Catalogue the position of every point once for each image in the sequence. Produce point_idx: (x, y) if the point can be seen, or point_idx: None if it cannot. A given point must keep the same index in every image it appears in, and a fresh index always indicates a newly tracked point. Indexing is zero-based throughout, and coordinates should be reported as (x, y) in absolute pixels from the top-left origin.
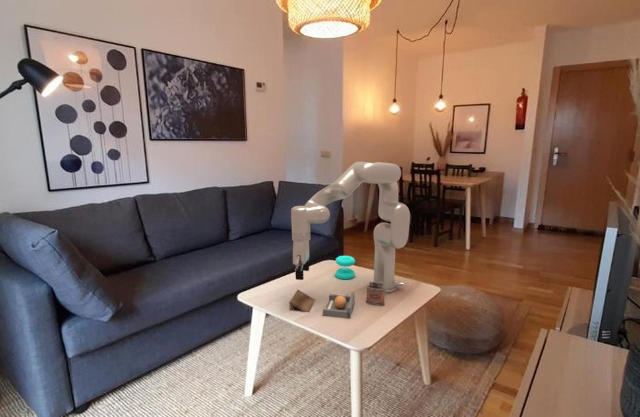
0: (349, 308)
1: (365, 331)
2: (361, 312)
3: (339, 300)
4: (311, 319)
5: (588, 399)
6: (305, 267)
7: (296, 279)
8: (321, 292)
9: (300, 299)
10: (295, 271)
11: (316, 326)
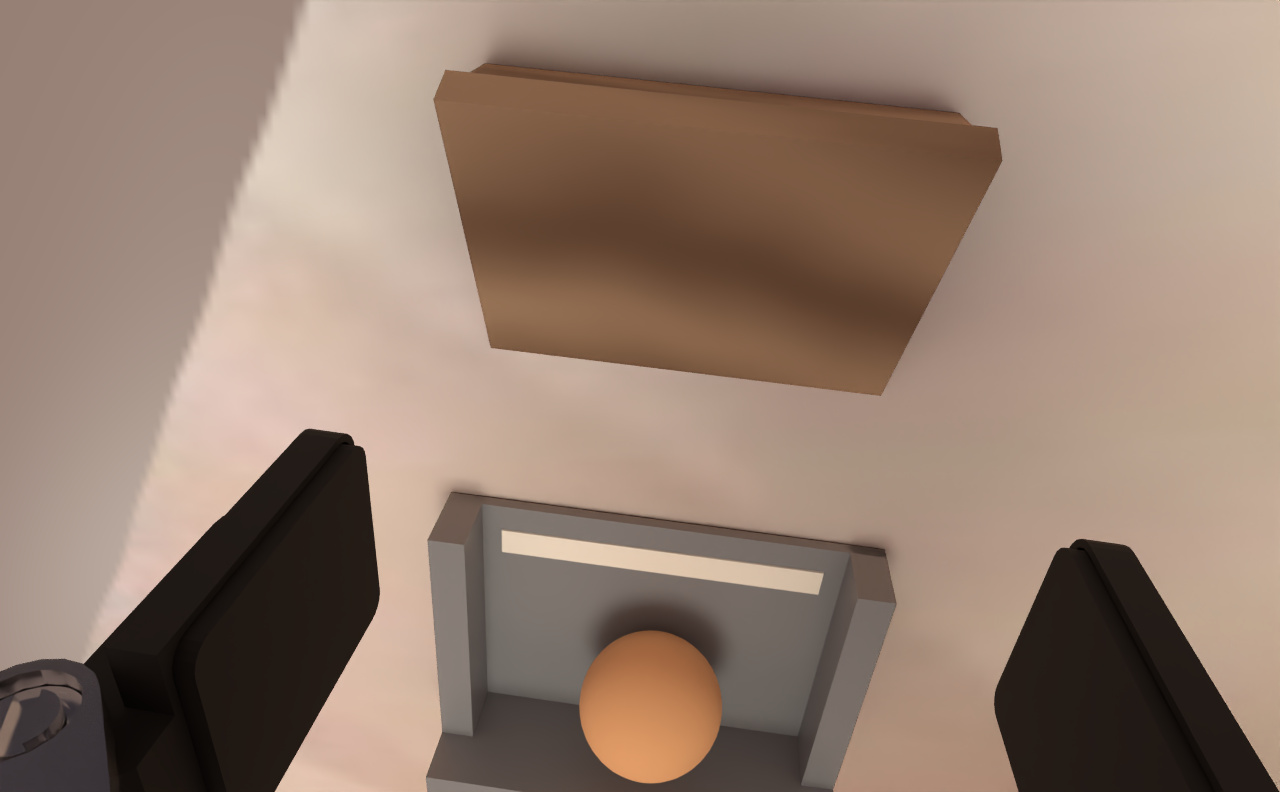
0: (429, 788)
1: (296, 766)
2: None
3: (587, 732)
4: (329, 385)
5: None
6: (1055, 729)
7: (312, 442)
8: (1138, 454)
9: (679, 236)
10: (139, 612)
11: (208, 443)
